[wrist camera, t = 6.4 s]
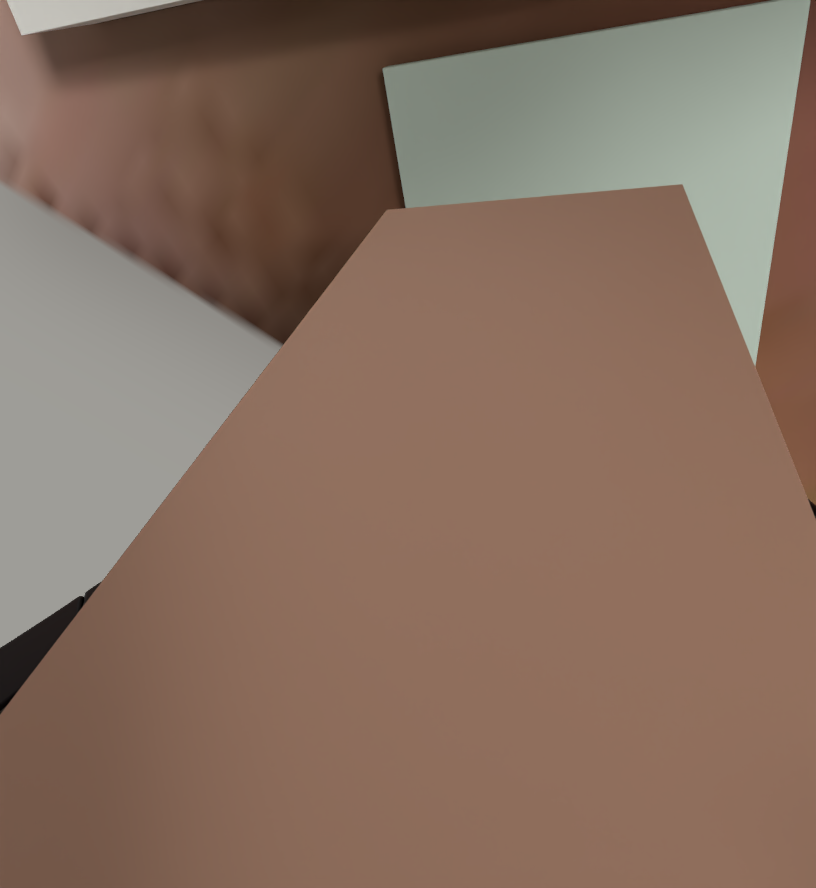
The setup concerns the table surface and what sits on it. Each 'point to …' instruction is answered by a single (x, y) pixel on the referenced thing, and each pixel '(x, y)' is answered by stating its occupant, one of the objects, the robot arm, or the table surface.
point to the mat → (620, 125)
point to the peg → (455, 593)
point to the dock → (79, 12)
